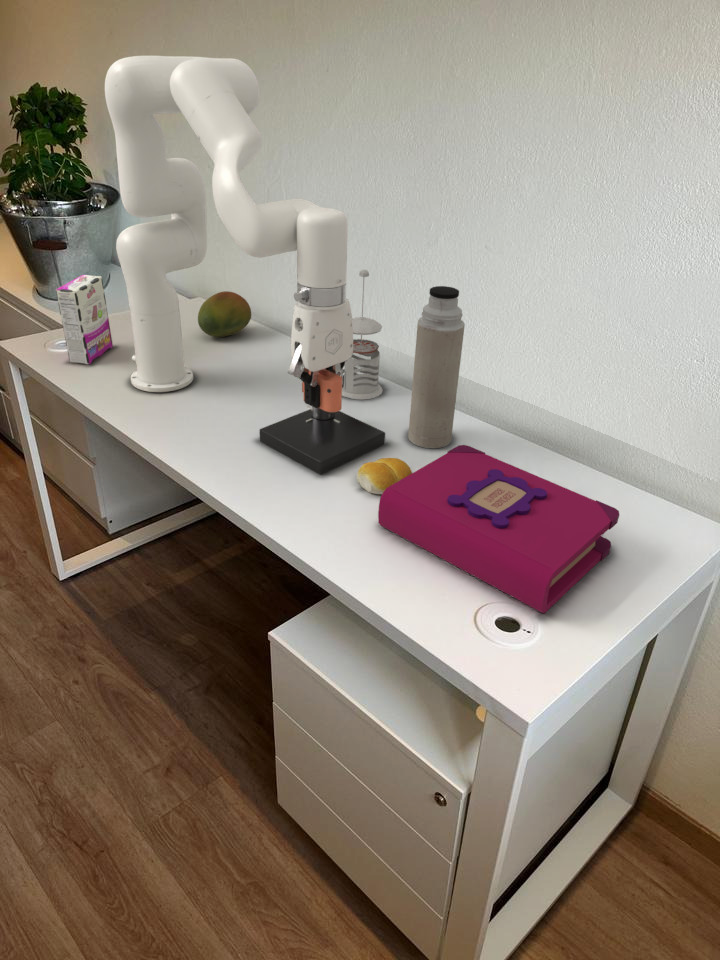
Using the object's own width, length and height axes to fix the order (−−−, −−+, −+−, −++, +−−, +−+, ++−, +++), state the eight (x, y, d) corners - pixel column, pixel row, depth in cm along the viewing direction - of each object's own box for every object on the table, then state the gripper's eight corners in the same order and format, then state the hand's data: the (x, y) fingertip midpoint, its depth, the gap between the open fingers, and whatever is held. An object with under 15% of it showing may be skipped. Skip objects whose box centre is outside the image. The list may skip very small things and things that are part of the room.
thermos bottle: (417, 424, 141) (430, 279, 127) (456, 434, 139) (474, 286, 124) (401, 442, 135) (413, 291, 121) (442, 452, 132) (459, 299, 118)
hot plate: (256, 439, 134) (256, 426, 132) (323, 412, 144) (324, 400, 143) (320, 475, 124) (320, 461, 123) (387, 443, 135) (388, 430, 133)
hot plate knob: (323, 422, 135) (323, 395, 132) (306, 414, 138) (306, 388, 135) (339, 414, 138) (340, 388, 135) (323, 407, 140) (323, 381, 138)
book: (539, 619, 95) (550, 573, 91) (376, 530, 111) (379, 487, 107) (612, 550, 109) (624, 507, 105) (457, 479, 124) (463, 439, 121)
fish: (296, 397, 125) (295, 364, 122) (310, 392, 127) (310, 359, 124) (331, 414, 120) (331, 379, 117) (345, 408, 122) (346, 374, 119)
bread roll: (421, 486, 122) (423, 465, 120) (376, 501, 118) (377, 480, 116) (392, 464, 128) (394, 444, 126) (348, 477, 124) (349, 457, 122)
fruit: (257, 330, 182) (256, 290, 177) (235, 347, 171) (233, 305, 166) (215, 323, 185) (212, 284, 179) (190, 340, 174) (186, 298, 169)
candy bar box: (93, 344, 169) (82, 273, 161) (113, 347, 169) (103, 275, 160) (67, 363, 160) (54, 288, 151) (88, 365, 159) (76, 290, 151)
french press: (391, 395, 152) (399, 274, 139) (340, 404, 148) (343, 280, 135) (369, 377, 160) (375, 260, 147) (320, 385, 155) (321, 265, 142)
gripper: (298, 310, 107) (299, 424, 116) (375, 289, 117) (370, 395, 126) (264, 298, 111) (268, 409, 120) (342, 278, 121) (339, 381, 131)
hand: (320, 400), depth 123 cm, fingers closed on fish, 3 cm apart
